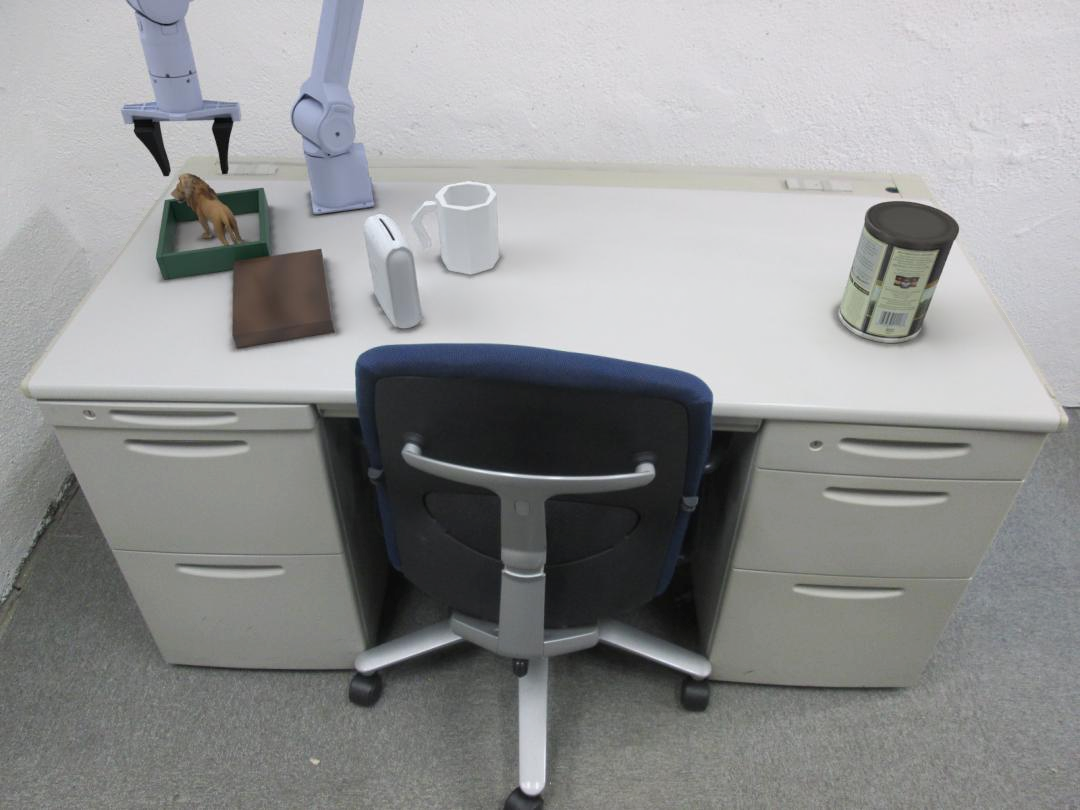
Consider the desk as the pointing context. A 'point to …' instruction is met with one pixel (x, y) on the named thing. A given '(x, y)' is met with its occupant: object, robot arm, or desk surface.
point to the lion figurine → (207, 207)
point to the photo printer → (392, 271)
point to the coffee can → (896, 270)
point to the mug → (463, 226)
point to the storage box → (214, 256)
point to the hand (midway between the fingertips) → (196, 172)
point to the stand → (280, 298)
